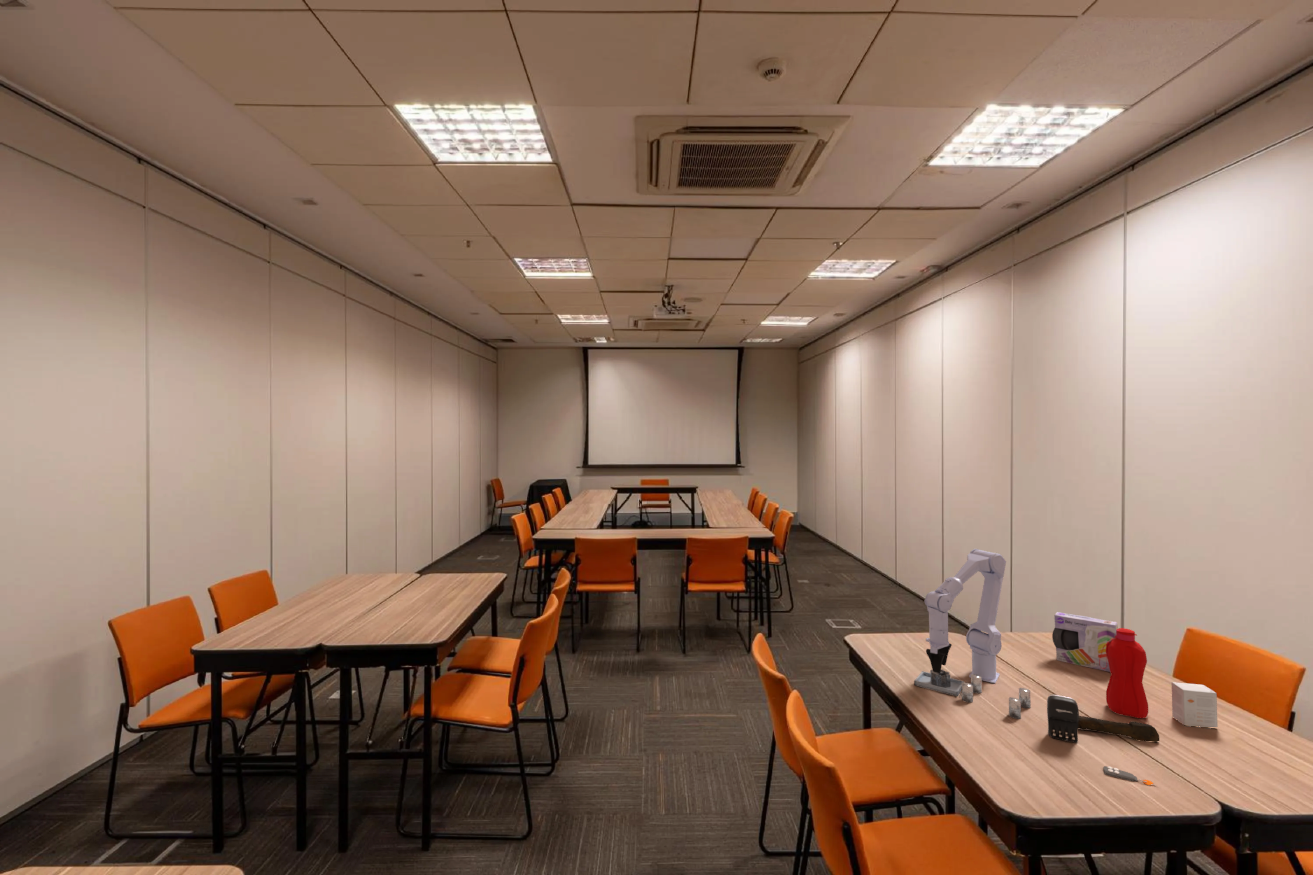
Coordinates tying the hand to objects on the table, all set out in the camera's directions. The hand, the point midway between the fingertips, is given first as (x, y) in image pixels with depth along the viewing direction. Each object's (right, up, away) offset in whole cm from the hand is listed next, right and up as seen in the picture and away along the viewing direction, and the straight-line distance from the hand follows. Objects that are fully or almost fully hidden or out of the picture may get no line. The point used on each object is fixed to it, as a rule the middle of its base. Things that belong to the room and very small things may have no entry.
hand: (939, 668), depth 184 cm
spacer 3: (+12, -6, -21) cm, 25 cm away
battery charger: (+17, -6, -34) cm, 38 cm away
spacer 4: (+19, -6, -15) cm, 25 cm away
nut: (0, -5, 0) cm, 5 cm away
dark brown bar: (+33, -6, -31) cm, 46 cm away
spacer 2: (+10, -6, -5) cm, 12 cm away
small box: (+61, -5, -26) cm, 66 cm away
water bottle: (+47, -6, -18) cm, 50 cm away
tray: (0, -6, 0) cm, 6 cm away
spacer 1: (+3, -6, -11) cm, 13 cm away
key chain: (+21, -6, -52) cm, 57 cm away
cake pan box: (+62, -6, +16) cm, 64 cm away
